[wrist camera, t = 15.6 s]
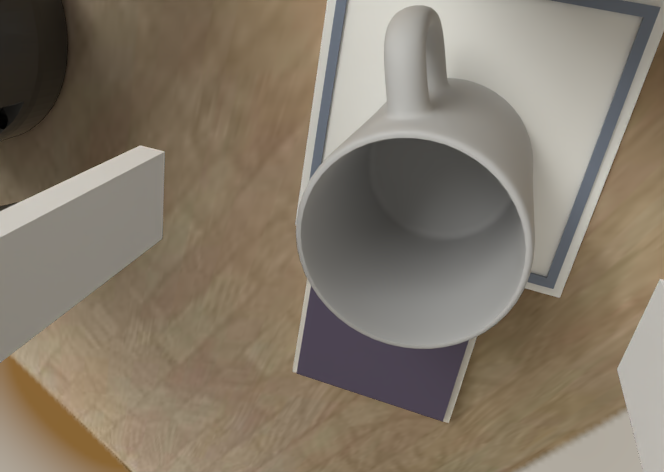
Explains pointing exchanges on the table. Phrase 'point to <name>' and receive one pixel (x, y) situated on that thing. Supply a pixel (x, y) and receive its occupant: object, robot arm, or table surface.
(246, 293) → the table surface
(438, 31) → the mug
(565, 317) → the table surface
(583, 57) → the print card
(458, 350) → the ink pad
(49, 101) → the robot arm
